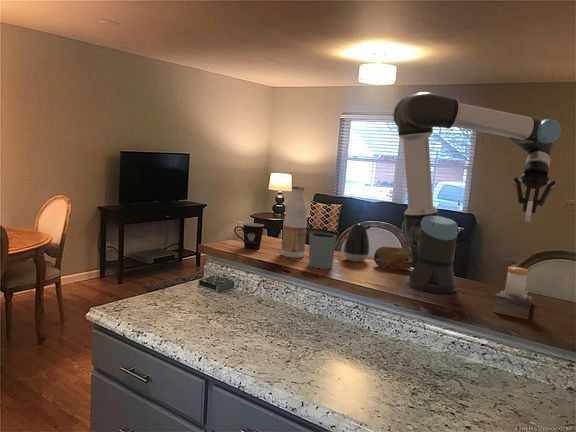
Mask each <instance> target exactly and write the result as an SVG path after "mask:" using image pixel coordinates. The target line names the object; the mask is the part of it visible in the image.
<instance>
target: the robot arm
mask: <svg viewBox="0 0 576 432" xmlns="http://www.w3.org/2000/svg"><path fill="white" fill-rule="evenodd" d="M392 115H393V121H394V123H395V125H396V126H397V131H398V137H399V138H400V139H401V140H402V141H403V152H404V154H403V155H404V167H405V168H404V169H405V181H406V195H407V197H406V198H407V209H406V210H405V211H404V214H403V215H404V217H403V218H404V220H403V221H402V224H401V234H402V237H403V238H404V240H405V241H406V243H408V244H409V245H411V247H414V248H416V249H417V253H416V254H417V255H416V263H415V264H414V267H413V269H412V271H411V274H410V276H409V277H408V285H409V286H410V287H411V288H413V289H416V290H419V291H421V292H422V291H423V292H427V293H431V294H443V295H445V294H453V293H455V292H456V288H457V287H456V286H457V283H456V281H455V274H454V268H453V267H454V259H455V252H456V244H457V237H458V234H459V233H458V223H456V221H455V220H453V219H450V218H448V217H444V216H440V215H439V211H438V209H437V208H436V207H435V206H434V204H433V203H434V202H433V188H432V187H433V186H432V184H433V183H432V173H431V172H432V171H431V156H430V152H431V151H430V137H431V135H433V134H434V131H433V130H434V129H433V128H442V129H449V130H450V129H451V128H452V127H456V128H460V129H465V130H470V131H474V132H475V131H476V132H480V133H487V134H492V135H496V136H497V135H498V136H502V137H505V138H506V139H508V140H509V141H510V142H512V143H513V144H515V145H517V146H518V147H519V148H520V149H521V150H523V151H524V152H525V153H526V154H527V155H526V160H525V164H524V169H523V174H522V175H521V177H520V178H517V177H514V178H513V185H514V187H515V189H516V190H515V191H516V195H517V196H516V197H517V202H518V204H523V207H522V212H524V213H525V215H524V216H525V217H524V222H529V223H531V218H532V214H535V213H536V211H537V206H539V207H542V206H544V204H545V202H546V200H547V198H548V197H549V195H550V193H551V192H552V191H553V190H554V189H555V187H556V184H557V183H556V181H551V180H550V179H549V178H550V177H549V171H550V165H551V158H552V154H553V149H554V142H555V141H557V140H558V138H559V137H560V136H561V132H562V131H561V130H562V129H561V128H562V127H561V125H560V123H559V122H558V121H557V120H555V119H552V118H551V119H549V118H544V119H540V118H535V117H531V116H526V115H521V114H515V113H511V112H507V111H503V110H495V109H492V108H488V107H482V106H477V105H471V104H466V103H463V102H462V103H461V102H460V101H459V99H458V98H456V97H455V98H454V97H450V96H445V95H441V94H438V93H434V92H429V91H427V92H426V91H424V92H423V91H421V92H417V93H415V94H410V95H407V96H405V97H403V98H402V99H400V100H399V101H398V102H397V103H396V105H395V107H394V109H393V113H392ZM522 183H523V185H524V186H525V187H526V190H525V194H523V190H522ZM545 186H546V187H545ZM543 187H545V189H544V190H543V192H542V195H541V196H540V198H539V193H540V190H541V189H542V188H543ZM532 189H534V195H533V200H532V201H531V200H530V196H531V191H532ZM523 195H524V196H523Z"/></svg>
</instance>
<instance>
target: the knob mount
mask: <svg viewBox="0 0 576 432" xmlns="http://www.w3.org/2000/svg"><path fill="white" fill-rule="evenodd" d="M505 290H506V287H504V290H500V292H499V293H498V292H497V293H496V294H495V299H494V306H493V313H496V314H501V315H505V316H510V317H515V318H518V319H519V318H520V319H525V320H529V313H530V309H531V303H532V296H528V295H529V293H528V292H529V291H526V290H525V291H524V297H523V298H519V297H520V296H517V295H512V294H508V295H505Z"/></svg>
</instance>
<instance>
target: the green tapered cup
mask: <svg viewBox="0 0 576 432" xmlns="http://www.w3.org/2000/svg"><path fill="white" fill-rule="evenodd" d="M308 236H309V243H308V244H309V246H308V247H309V250H308V251H309V252H308V253H309V254H308V255H309V256H308V266H309V267H310V268H312V267H314V268H313V269H316V268H320V269H319V270H331V269H332V268H333V262H334V258H335V257H334V254H335V249H336V244H337V243H336V242H337V235H335V234H333V233H327V232H311V233H309V235H308ZM330 268H331V269H330Z"/></svg>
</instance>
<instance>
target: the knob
mask: <svg viewBox="0 0 576 432" xmlns="http://www.w3.org/2000/svg"><path fill="white" fill-rule="evenodd" d="M528 275H529V269H527V268H524V267H519V266H508V267H507V276H506V284H505V288H506V290H505V295H508V294H512V295H517V296H520V297H519V298H523V297H524V291H526V283H527V279H528V278H527V277H528Z"/></svg>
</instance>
